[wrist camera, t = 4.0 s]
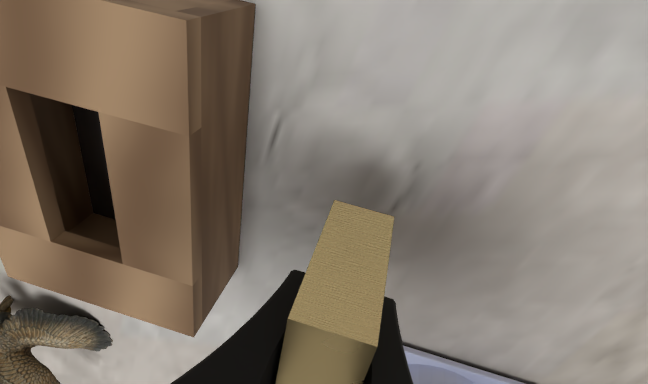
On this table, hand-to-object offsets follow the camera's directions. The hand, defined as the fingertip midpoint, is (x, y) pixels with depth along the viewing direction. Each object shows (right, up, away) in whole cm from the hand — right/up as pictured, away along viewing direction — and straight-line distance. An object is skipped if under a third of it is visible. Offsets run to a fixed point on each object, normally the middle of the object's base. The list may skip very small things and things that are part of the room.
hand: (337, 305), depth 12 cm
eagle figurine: (-21, -6, +18) cm, 29 cm away
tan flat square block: (0, +1, +2) cm, 2 cm away
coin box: (-9, +6, +7) cm, 13 cm away
